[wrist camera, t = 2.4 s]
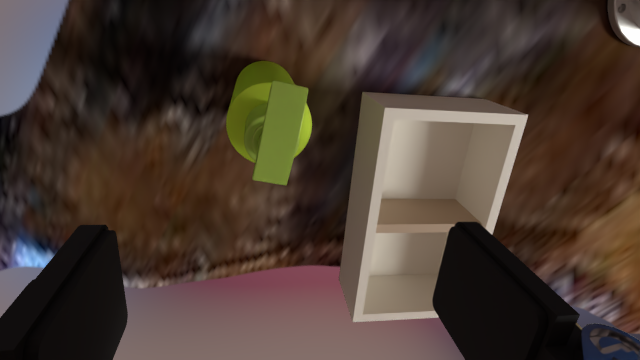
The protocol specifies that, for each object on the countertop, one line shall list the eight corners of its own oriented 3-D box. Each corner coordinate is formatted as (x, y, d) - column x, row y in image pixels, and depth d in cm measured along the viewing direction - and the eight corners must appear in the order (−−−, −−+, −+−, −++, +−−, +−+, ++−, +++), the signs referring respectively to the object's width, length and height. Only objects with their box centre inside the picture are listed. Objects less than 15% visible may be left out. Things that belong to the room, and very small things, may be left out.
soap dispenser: (302, 58, 37) (348, 98, 19) (287, 125, 40) (315, 217, 22) (242, 42, 36) (230, 71, 18) (230, 113, 38) (209, 201, 20)
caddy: (362, 91, 40) (385, 107, 33) (483, 98, 42) (528, 114, 35) (338, 279, 49) (352, 322, 42) (439, 276, 51) (467, 315, 44)
